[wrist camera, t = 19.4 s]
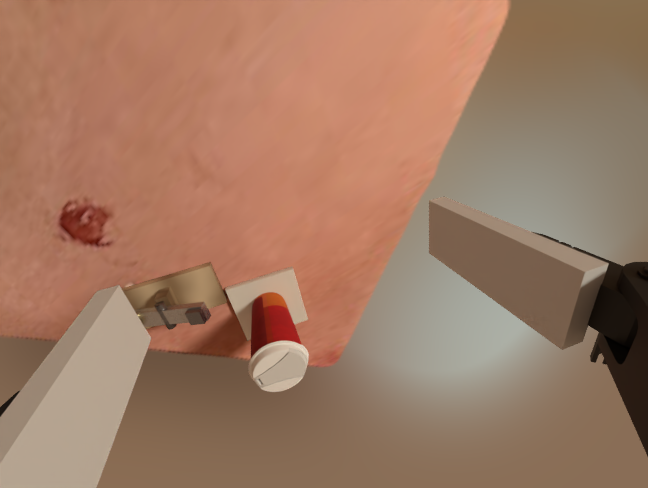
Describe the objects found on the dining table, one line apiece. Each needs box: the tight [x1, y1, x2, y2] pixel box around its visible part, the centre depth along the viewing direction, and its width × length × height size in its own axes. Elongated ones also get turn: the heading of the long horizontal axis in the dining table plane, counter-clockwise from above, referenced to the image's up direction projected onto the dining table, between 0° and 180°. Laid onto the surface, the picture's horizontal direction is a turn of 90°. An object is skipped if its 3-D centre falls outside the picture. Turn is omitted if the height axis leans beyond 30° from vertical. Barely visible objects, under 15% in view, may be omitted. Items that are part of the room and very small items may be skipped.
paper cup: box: [248, 292, 309, 392], centre depth 42 cm, size 8×8×14 cm
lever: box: [134, 301, 211, 329], centre depth 39 cm, size 12×4×2 cm, turn 102°
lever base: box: [122, 262, 227, 329], centre depth 42 cm, size 14×7×4 cm, turn 102°
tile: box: [225, 267, 308, 341], centre depth 49 cm, size 11×11×1 cm
